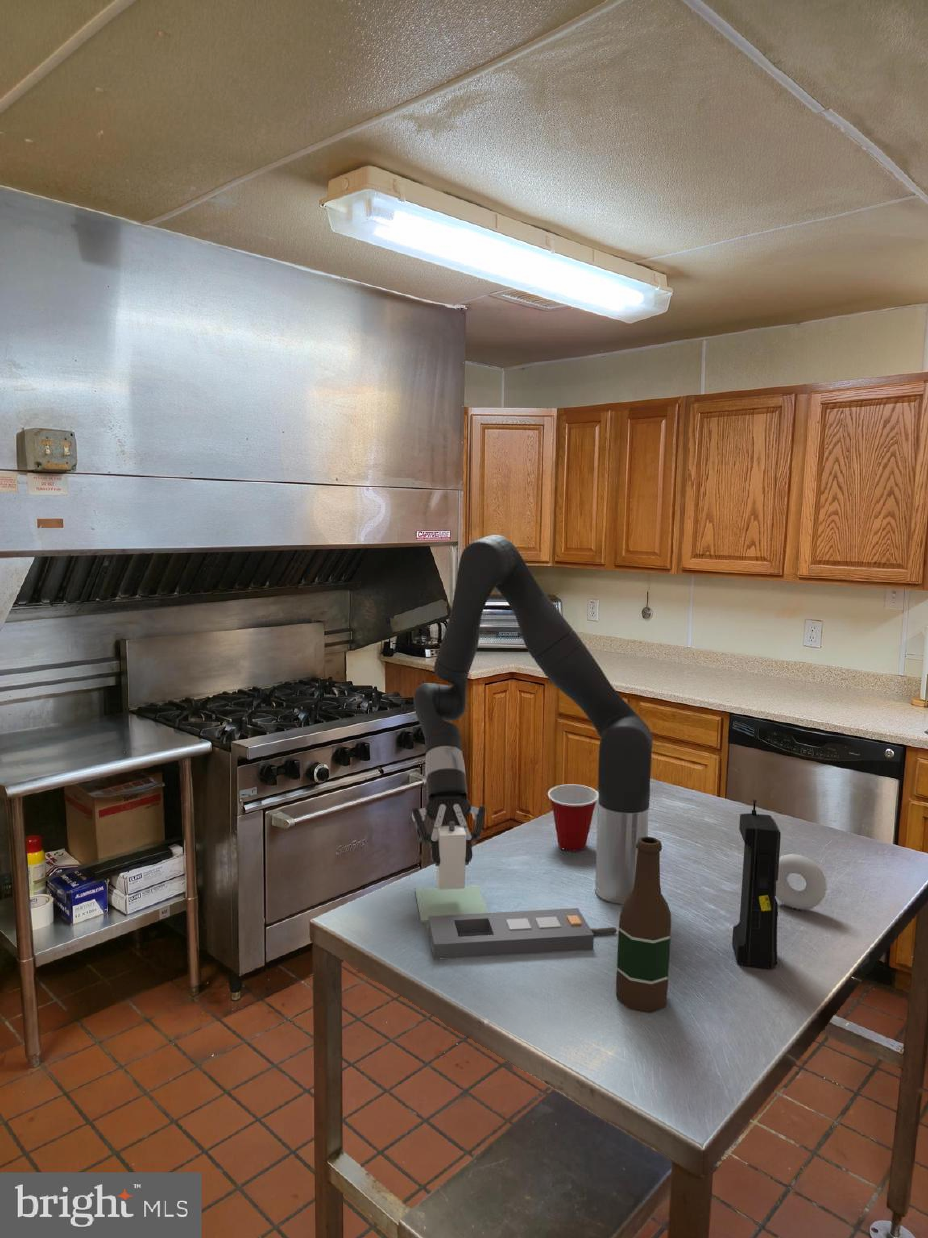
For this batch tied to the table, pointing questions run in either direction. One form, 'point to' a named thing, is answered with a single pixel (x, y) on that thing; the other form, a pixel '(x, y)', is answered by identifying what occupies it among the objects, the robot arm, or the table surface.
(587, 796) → the plastic cup
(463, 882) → the block
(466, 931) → the power strip
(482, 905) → the mat
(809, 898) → the donut
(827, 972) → the table surface
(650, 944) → the beer bottle
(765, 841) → the portable radio
